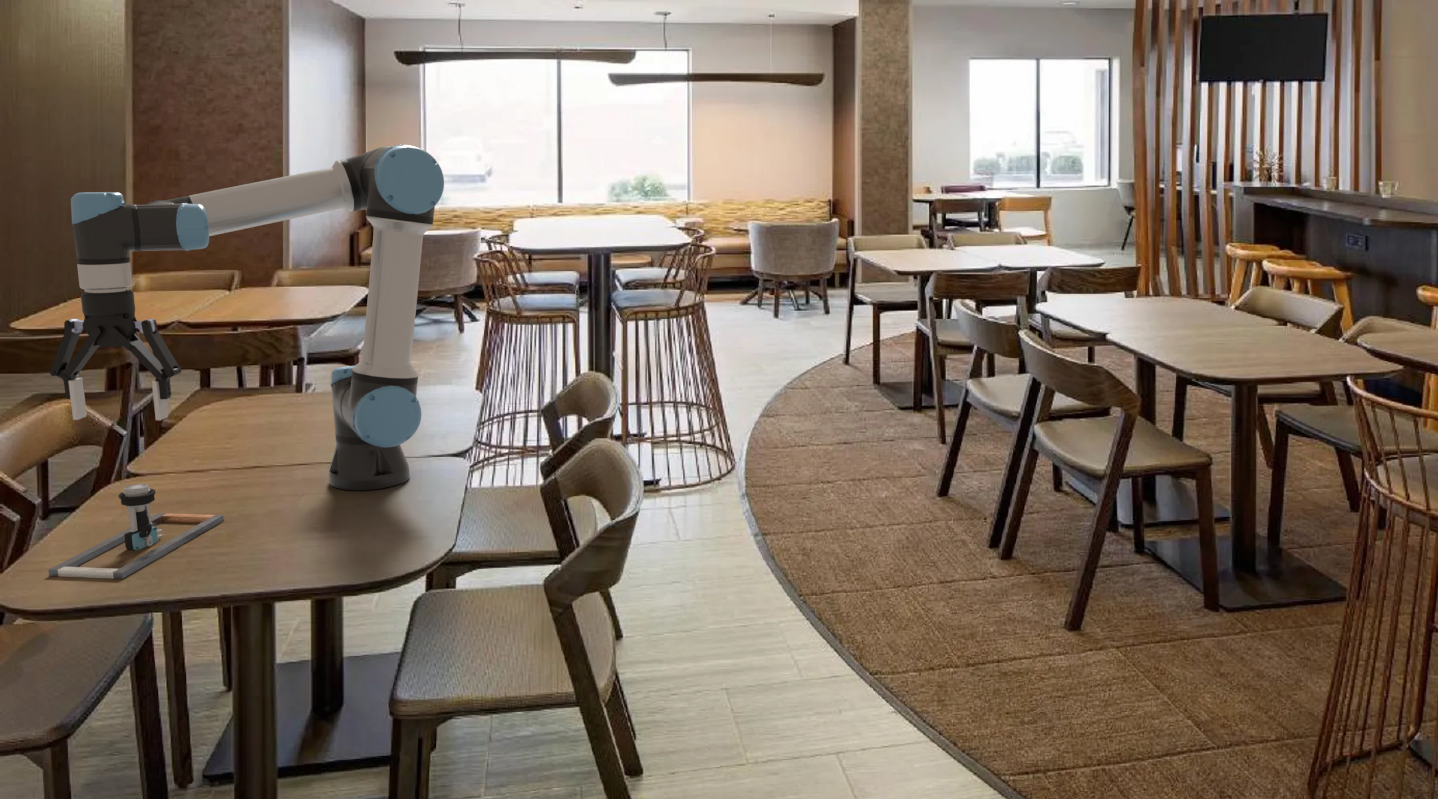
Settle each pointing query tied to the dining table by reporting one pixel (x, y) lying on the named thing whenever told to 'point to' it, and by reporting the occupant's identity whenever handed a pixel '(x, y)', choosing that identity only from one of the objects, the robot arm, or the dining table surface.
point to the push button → (139, 516)
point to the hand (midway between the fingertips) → (121, 418)
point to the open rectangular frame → (71, 569)
